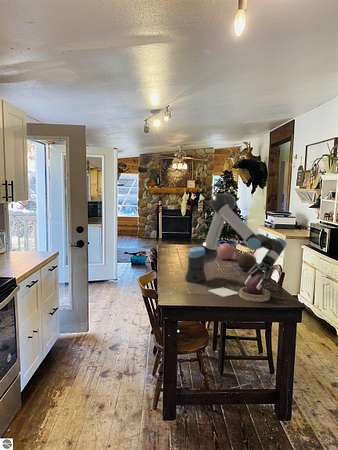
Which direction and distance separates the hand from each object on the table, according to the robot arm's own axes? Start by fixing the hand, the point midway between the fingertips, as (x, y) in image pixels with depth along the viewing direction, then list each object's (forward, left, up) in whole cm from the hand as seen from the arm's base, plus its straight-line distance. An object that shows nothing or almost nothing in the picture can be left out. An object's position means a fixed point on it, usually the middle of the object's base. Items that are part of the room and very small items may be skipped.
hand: (251, 286), depth 207 cm
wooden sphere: (-49, +52, -7) cm, 72 cm away
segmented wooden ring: (0, +3, -7) cm, 8 cm away
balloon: (-88, +70, -7) cm, 113 cm away
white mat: (-16, -8, -7) cm, 19 cm away
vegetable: (0, +3, -6) cm, 7 cm away
